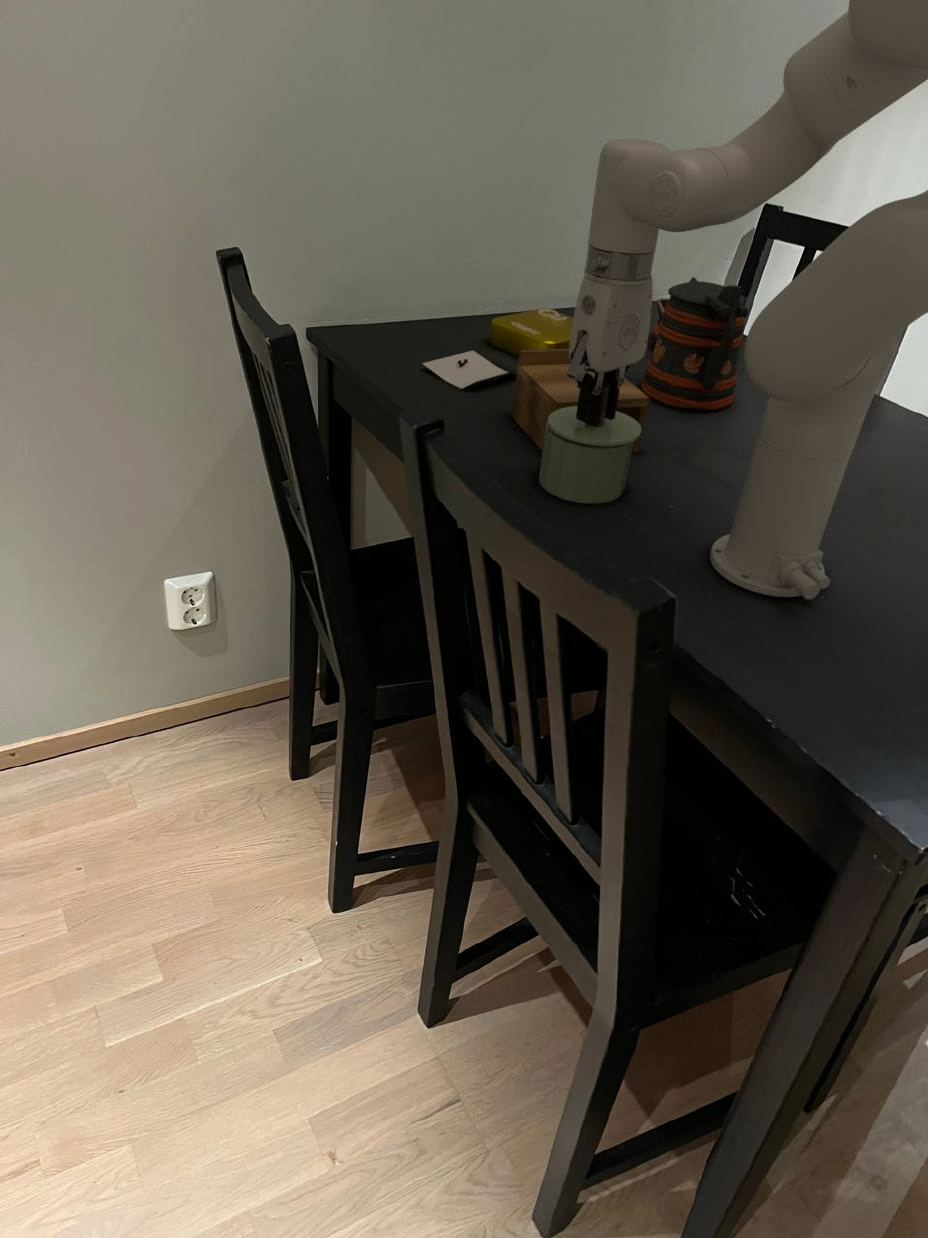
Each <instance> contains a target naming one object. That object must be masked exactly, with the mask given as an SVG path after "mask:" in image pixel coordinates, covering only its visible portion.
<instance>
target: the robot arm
mask: <svg viewBox="0 0 928 1238" xmlns="http://www.w3.org/2000/svg"><path fill="white" fill-rule="evenodd" d="M848 1H849V2H848V8H847V11H846V12H844V14H842V15H841V16H840V17H838V18H837V19H836V20H835V21H833V22H832V23H831V24H830V25H828V26H827V27H826V28H824V29H823V30H822V31H821V32H820V33H818V34H817V35H816V36H815V37H813V38H812V39H811V40H810V41H808V42H807V43H806V44H805V45H803V46H802V47H800V48H799V49H798V50H797V51H795V52H794V53H793V54H792V55H791V56H790V58H789V59H788V60H787V62H786V64H785V67H784V70H783V78H782V80H783V82H782V83H783V91H782V93H781V95H780V97H779V98H777V101H776V102H775V103H774V104H773V105H772V106H771V107H770V108H769V109H768V110H767V111H766V112H765V113H764V114H763V115H761V116H760V117H759V118H758V119H757V120H756V121H754V122H753V123H752V124H750V125H749V126H747V128H745V129H744V130H742V131H741V132H740V133H739V134H737V135H736V136H734V137H733V138H732V139H731V140H729V141H728V142H726V143H724V144H723V145H721V146H710V147H709V146H707V147H698V148H697V147H696V148H692V149H681V150H678V149H677V150H669V149H668V148H667V146H666V145H664V144H663V143H660V142H657V141H652V140H646V139H637V138H615V139H612V140H608V141H607V142H606V143H605V144H603V146H602V148H601V150H600V153H599V158H598V164H597V171H596V180H595V186H594V194H593V200H592V210H591V217H590V223H589V232H588V240H587V248H586V254H585V255H586V256H585V263H584V271H583V275H584V276H583V277H582V281H581V284H580V287H579V292H578V296H577V299H576V303H575V309H574V313H573V317H572V318H573V323H572V329H571V335H570V343H569V360H570V362H571V364H570V366H569V369H568V371H567V376H568V377H570V378H572V379H574V380H576V382H577V383H578V384H577V387H578V389H580V392H579V399H578V406H577V413H576V418H577V420H580V421H582V422H585V423H587V424H590V425H592V426H597V425H599V423H600V416H601V410H602V404H603V397H604V394H601V393H600V392H601V389H602V384H603V382H607V383H609V384H610V392H609V398H608V404H607V411H606V417H605V418H606V419H609V420H612V419H614V418H615V415H616V409H617V403H618V397H619V391H620V389H619V388H618V387H621V386H622V385H623V383H624V378H625V375H626V373H627V372H628V370H629V369H630V366H631V365H633V364H635V363H638V362H639V361H641V360H643V358H644V357H645V356H646V351H647V348H648V342H649V333H650V328H651V327H650V326H651V317H652V309H653V293H654V291H653V290H654V289H653V284H654V283H653V276H652V273H653V267H654V261H655V255H656V250H657V244H658V239H659V232H660V230H662V231H664V232H670V233H683V232H684V233H685V232H690V231H695V230H699V229H704V228H706V227H713V226H718V225H724V224H728V223H731V222H735V221H736V220H739V219H741V218H743V217H744V216H746V215H748V214H749V213H751V212H753V211H754V210H756V209H757V208H758V207H760V206H762V205H763V204H764V203H766V202H767V201H769V200H771V199H772V198H774V197H775V196H777V195H778V194H780V193H781V192H782V191H784V190H786V189H787V188H788V187H790V186H791V185H792V184H794V183H795V182H797V180H799V179H800V178H802V177H803V176H805V174H806V173H808V172H809V171H811V169H812V168H813V167H815V166H816V164H817V163H819V161H820V160H822V159H823V158H824V157H825V156H826V155H828V153H829V152H831V150H832V149H833V148H834V146H835V145H836V144H837V143H838V142H840V141H841V140H843V139H844V138H845V137H847V136H848V135H850V134H851V133H853V131H855V130H857V129H858V128H860V127H861V126H862V125H863V124H865V123H867V122H869V121H870V120H871V119H872V118H873V117H875V116H877V115H878V114H880V113H881V112H883V111H884V110H886V109H887V108H888V107H889V106H892V105H893V104H894V103H895V102H897V101H899V100H900V99H901V98H903V97H905V96H906V95H907V94H909V93H911V92H912V91H913V90H915V89H916V88H917V87H919V86H920V85H922V84H923V83H925V82H927V81H928V0H848ZM926 314H928V189H927V190H925V191H924V192H922V193H919V194H917V195H914V196H909V197H906V198H905V197H904V198H901V199H897V200H893V201H890V202H887V203H885V204H882V205H881V206H878V207H875V208H874V209H872V210H871V211H868V212H867V213H866V214H865V215H863V216H862V217H860V218H858V220H856V221H855V222H853V223H852V224H851V225H850V226H849V227H847V228H846V229H845V230H844V231H843V232H842V233H841V234H840V235H838V236H837V237H836V238H835V240H833V241H832V242H831V243H830V244H829V245H828V246H827V247H826V248H825V249H824V250H823V251H822V252H820V253H819V255H818V256H816V257H815V259H813V260H812V262H810V263H809V264H808V265H807V266H806V267H805V268H804V269H803V270H802V271H801V272H800V273H798V274H797V275H796V277H794V278H793V280H791V281H790V282H789V283H788V284H787V285H786V286H785V287H784V288H783V289H782V290H781V291H780V292H779V293H777V295H776V296H775V297H773V298H772V299H771V300H770V302H769V303H768V304H766V306H765V307H764V308H763V309H762V310H761V311H760V313H759V314H758V315H757V316H756V318H755V319H754V321H753V322H752V324H751V326H750V328H749V331H748V333H747V336H746V340H745V344H744V365H745V369H746V373H747V376H748V377H749V379H750V381H751V382H752V384H753V385H754V386H755V388H756V389H757V390H758V391H760V392H761V393H763V395H765V396H767V397H769V398H768V401H767V404H766V407H765V410H764V412H763V415H762V419H761V421H760V422H761V423H760V426H759V430H758V431H757V435H756V439H755V443H754V446H753V450H752V454H751V457H750V460H749V465H748V468H747V471H746V475H745V479H744V482H743V486H742V489H741V493H740V496H739V500H738V504H737V507H736V511H735V514H734V518H733V522H732V525H731V529H730V533H729V534H725V535H723V536H721V537H718V538H717V539H716V540H715V541H714V542H713V544H712V546H711V549H710V553H709V560H710V563H711V565H712V567H713V568H714V570H715V571H717V573H718V574H719V575H721V577H723V578H724V579H726V580H727V581H729V582H731V583H732V584H733V585H736V586H738V587H739V588H742V589H745V590H747V591H750V592H753V593H756V594H761V595H764V596H771V597H778V598H797V597H803V598H804V599H806V600H808V601H810V600H813V599H815V598H817V596H818V595H819V593H820V592H821V590H824V589H826V588H828V587H829V586H830V585H831V581H832V580H831V579H830V577H829V576H827V574H826V571H825V570H826V569H825V567H824V565H823V563H822V560H823V558H824V552H823V551H822V550H820V545H821V543H822V540H823V536H824V535H825V530H826V528H827V524H828V521H829V519H830V516H831V513H832V511H833V508H834V504H835V502H836V499H837V496H838V493H839V491H840V488H841V484H842V481H843V479H844V476H845V473H846V470H847V467H848V464H849V461H850V458H851V455H852V453H853V452H854V448H855V446H856V443H857V441H858V437H859V434H860V431H861V429H862V426H863V423H864V421H865V419H866V416H867V413H868V410H869V408H870V406H871V404H872V401H873V399H874V397H875V395H876V393H877V390H878V388H879V386H880V385H881V382H882V380H883V378H884V376H885V374H886V372H887V370H888V367H889V365H890V363H891V361H892V358H893V356H894V354H895V350H896V348H897V344H898V339H899V334H900V333H902V332H903V331H904V330H905V329H906V328H908V327H909V326H910V325H911V324H913V323H914V322H916V321H917V320H918V319H920V318H921V317H923V316H925V315H926ZM589 371H590V372H593V373H595V376H594V378H593V377H592V375H591V374H589Z"/></svg>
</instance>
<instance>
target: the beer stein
mask: <svg viewBox="0 0 928 1238" xmlns="http://www.w3.org/2000/svg"><path fill="white" fill-rule="evenodd" d="M742 291H743V287H742V286H741V285H736V284H735V285H730V284H729V285H726V286H725V285H721V284H717V283H714V282H708V281H700V280H699V281H698V280H697V278H696V277H694V276H692V277H691V278H690V280H689V281H687V282H683V283H678V284H675V285H673V286H671V287H670V288H668V291H667V292H668V295H669V296H670V297H669V298H668V299H669V301H667V302H666V307H665V308H664V312H663V316H662V318H661V321H660V325H659V327H658V331H659V334H658V337H657V341H656V340H655V344H654V348H653V352H652V355H651V357H650V358H649V359H648V360H647V365H646V368H645V373H644V378H643V382H642V383H641V392H643V393H644V394H645V395H646V396H648V397H649V398H650V399H653V400H655V401H656V402H659V403H660V404H663V405H665V406H671V407H673V408H677V409H682V410H690V411H701V412H704V411H718V410H722V409H724V408H727V407H729V406H730V405H731V404H732V403H733V402H734V400H735V391H736V385H737V380H738V371H737V365H738V359H739V352H740V346H742V344H743V339H744V331H745V330H744V329H745V323H746V318H747V317H748V315H749V308H747V306H746V298H745V296H744V295H742Z"/></svg>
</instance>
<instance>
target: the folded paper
mask: <svg viewBox="0 0 928 1238" xmlns="http://www.w3.org/2000/svg"><path fill="white" fill-rule="evenodd" d="M421 364H422V365H423V366H425V367H426V368H427V369H428V370H430V371H432V373H434V374H435V375H437V376H439V378H441V379H442V380H444V381H445V382H447V383H448V384H451V385H453V386H454V387H457V388H459V389H462V390H463V389H466V388H470V387H473V386H477V385H480V384H484V383H487V382H491V381H494V380H497V379H500V378H505V377H507V376H511V375H514V374H517V369H515V370H512V371H507V370H504V369H503V368H500V367H499V366H496V365H495V364H493V363H492V362H491V361H489V360H488V359H486V358H485V357H484V356H482V355H480V354H479V353H477V352H476V351H475V350H469V351H466V352H465V351H464V352H462V353H457V354H453V355H450V356H445V357H441V358H437V359H434V360H430V361H426V362H422V363H421Z"/></svg>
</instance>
